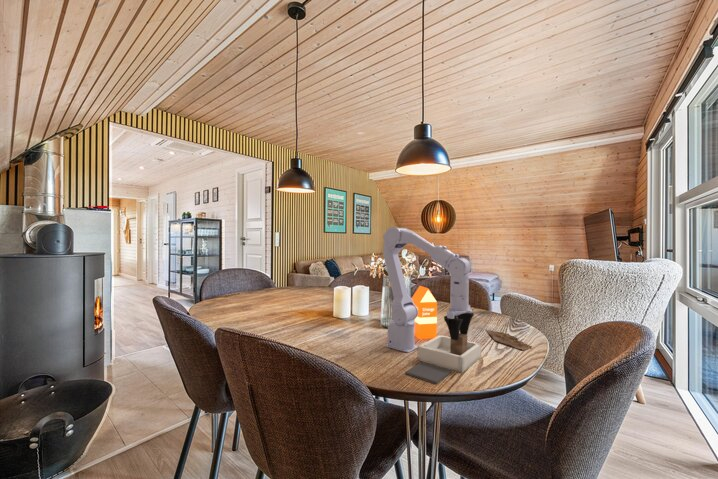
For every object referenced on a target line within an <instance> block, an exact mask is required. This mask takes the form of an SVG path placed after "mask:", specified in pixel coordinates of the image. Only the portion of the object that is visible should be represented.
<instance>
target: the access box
mask: <svg viewBox="0 0 718 479" xmlns="http://www.w3.org/2000/svg"><path fill="white" fill-rule="evenodd" d="M450 345H451V337H450V336H447V335H441V334H439V335H437V337H435V338H431V339H428V341H425V342H423V343H422V344H420V345H418V348H417V360H418V361H420V362H424V363H428V364H431V365H435V366H438V367H442V368H445V369H449V370H452V371H454V372H459V373H464V372H465V371H467V369H468V370H469V368H470V367H472V366H473V365H474V364H476V362H478V361H479V360H480V359H481V358H482V343H478V342H474V341H469V340H467V351H466V352H465V353H463V354H462V355H456V354H452V353H450Z"/></svg>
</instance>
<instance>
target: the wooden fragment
mask: <svg viewBox="0 0 718 479" xmlns="http://www.w3.org/2000/svg"><path fill="white" fill-rule="evenodd" d="M485 331H486V332H487V333H488V335H490V336H491V337H492V339H493V341H495V342H498V343H499V344H500V343H501V344H503V345H507V346H510V347H513V348H515V349H520V350H522V352H524V351H529V349H532V347H533V346H532V345H530V344H528V343H524V341H521V340H519V339H518V337H516V336H513V335H511V334H509V333H504V332H501V331H494V330H490V329H485Z"/></svg>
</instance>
